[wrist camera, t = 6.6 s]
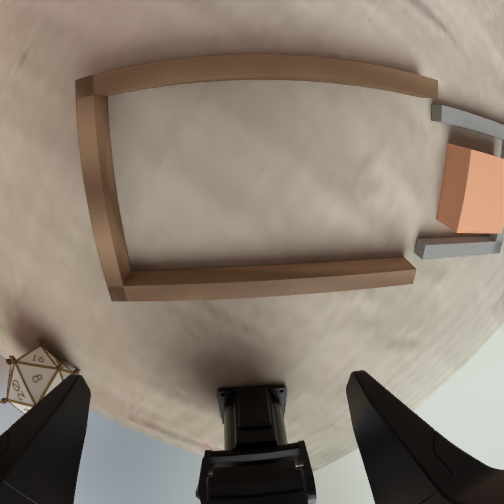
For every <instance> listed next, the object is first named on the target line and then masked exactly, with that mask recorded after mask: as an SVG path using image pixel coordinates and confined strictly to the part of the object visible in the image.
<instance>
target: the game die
mask: <svg viewBox="0 0 504 504" xmlns="http://www.w3.org/2000/svg"><path fill="white" fill-rule="evenodd" d="M38 343H39V346H37V347H36V348H34V349H32V350H31V351H29V352H27V353H26V354H24V355H23V356H21V357H19V358H18V359H15V358H14V356H10V355H9V357H10V359H6V362H7V363H8V364H9V365H10V371H9V379H8V388H7V398H3V399H1V401H0V403H6V402H7V401H8V402H10V403H11V404H12V405H13V406H15V407H16V408H17V409H18V410H20V411H21V412H22V413H23V414H25V413H26V412H27V411H29V410H30V409H31V408H32V407H33V406H34V405H35V404H36V403H38V402H39V401H40V400H41V399H42V398H43V397H44V396H46V395H47V394H48V393H49V392H50V391H51V390H52V389H54V388H55V387H56V386H57V385H58V384H59V383H60V382H62V381H63V380H64V379H65V378H66V377H67V376H69V375H70V374H78V373H79V371H80V370H77V369H75V370H74V371H73V372H72V371H71V370H70V369H68V368H67V367H66V366H65V365H64V364H62V363H61V362H60V361H59V360H58V359H56V358H55V357H54V356H53V355H52V354H51V353H50V352H48V351H47V350H46V349H45V348H44V347H43V346H42V344H43V340H42V337H40V339H39V342H38ZM11 361H12V362H11Z"/></svg>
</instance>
